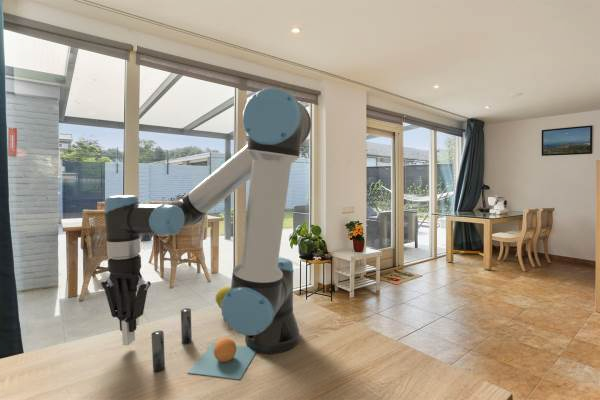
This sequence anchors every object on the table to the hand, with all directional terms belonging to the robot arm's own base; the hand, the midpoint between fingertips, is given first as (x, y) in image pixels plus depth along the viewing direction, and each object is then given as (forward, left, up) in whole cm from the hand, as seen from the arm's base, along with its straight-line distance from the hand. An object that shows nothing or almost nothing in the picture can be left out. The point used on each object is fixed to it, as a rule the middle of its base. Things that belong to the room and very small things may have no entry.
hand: (129, 342), depth 85 cm
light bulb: (-18, -22, -2) cm, 29 cm away
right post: (-13, -6, -2) cm, 15 cm away
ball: (-27, 0, +1) cm, 27 cm away
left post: (-13, +6, -2) cm, 15 cm away
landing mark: (-27, 0, -2) cm, 27 cm away
